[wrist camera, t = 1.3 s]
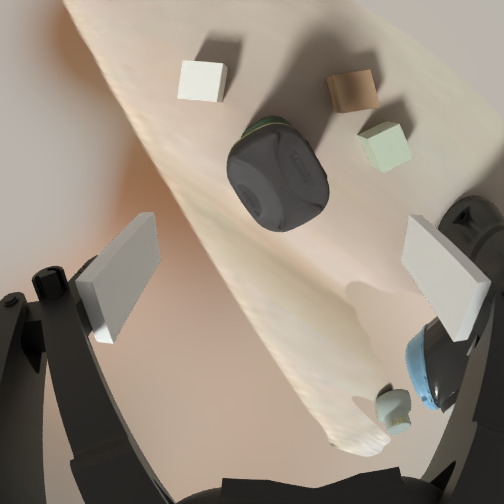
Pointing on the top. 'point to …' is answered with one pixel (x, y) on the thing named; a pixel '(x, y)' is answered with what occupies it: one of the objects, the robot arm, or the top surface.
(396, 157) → the sage block
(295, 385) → the top surface
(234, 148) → the coffee jar
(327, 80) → the walnut block
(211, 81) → the off-white block
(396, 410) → the air freshener
